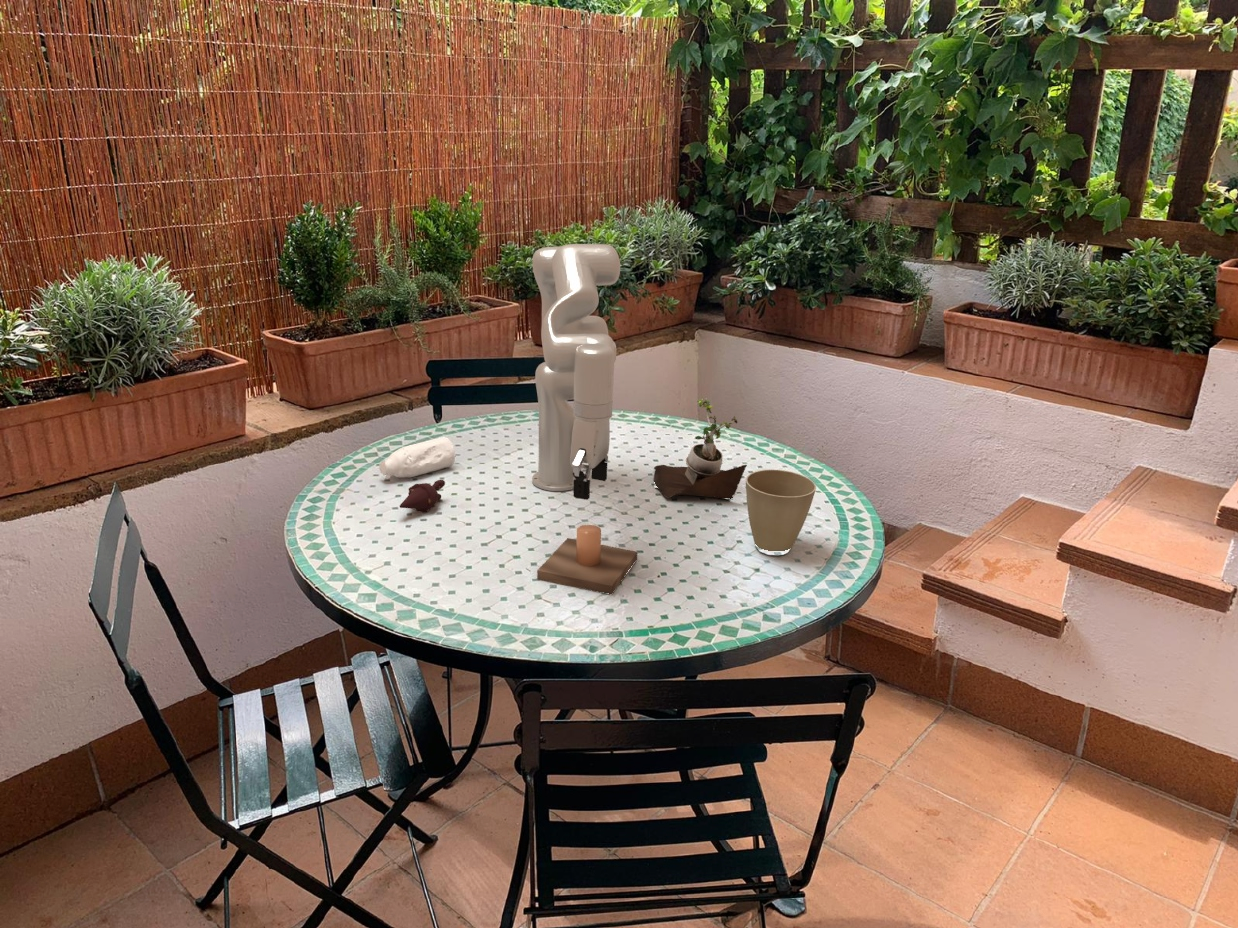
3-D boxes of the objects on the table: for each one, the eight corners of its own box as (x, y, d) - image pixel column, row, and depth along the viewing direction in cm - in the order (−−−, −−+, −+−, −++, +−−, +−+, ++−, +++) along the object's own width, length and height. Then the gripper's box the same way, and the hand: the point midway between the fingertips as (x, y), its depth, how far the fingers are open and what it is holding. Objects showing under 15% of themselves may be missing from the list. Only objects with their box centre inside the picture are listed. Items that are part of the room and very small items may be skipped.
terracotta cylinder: (581, 553, 194) (581, 523, 191) (603, 557, 192) (604, 527, 190) (572, 563, 189) (573, 532, 187) (595, 568, 188) (596, 537, 185)
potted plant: (721, 480, 245) (750, 402, 231) (729, 526, 230) (760, 446, 216) (649, 467, 243) (673, 388, 228) (652, 513, 227) (678, 431, 213)
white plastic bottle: (375, 478, 232) (372, 449, 229) (439, 461, 244) (437, 433, 241) (391, 488, 226) (389, 458, 223) (456, 470, 239) (455, 441, 236)
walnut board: (567, 546, 201) (567, 537, 200) (637, 560, 196) (637, 551, 195) (537, 579, 187) (537, 570, 186) (611, 594, 182) (611, 585, 181)
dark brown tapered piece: (415, 500, 205) (457, 483, 218) (391, 485, 207) (433, 470, 220) (409, 526, 208) (451, 509, 220) (384, 511, 210) (427, 495, 223)
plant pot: (755, 568, 195) (762, 498, 189) (729, 537, 208) (735, 471, 202) (819, 561, 199) (828, 493, 193) (789, 531, 212) (797, 467, 206)
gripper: (590, 392, 187) (588, 470, 194) (557, 419, 172) (556, 502, 179) (625, 397, 185) (622, 476, 191) (595, 425, 170) (592, 509, 176)
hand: (590, 488), depth 185 cm, fingers open, 9 cm apart
